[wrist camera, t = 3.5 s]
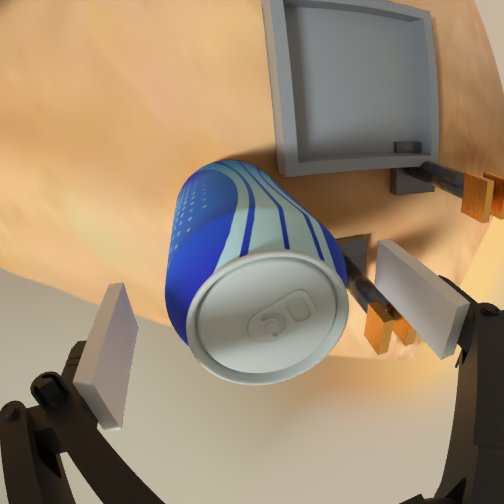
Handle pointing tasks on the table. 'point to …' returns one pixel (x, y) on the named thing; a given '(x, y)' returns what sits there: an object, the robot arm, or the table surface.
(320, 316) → the beer can
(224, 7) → the table surface
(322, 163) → the tray
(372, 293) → the clip posts
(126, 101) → the table surface
